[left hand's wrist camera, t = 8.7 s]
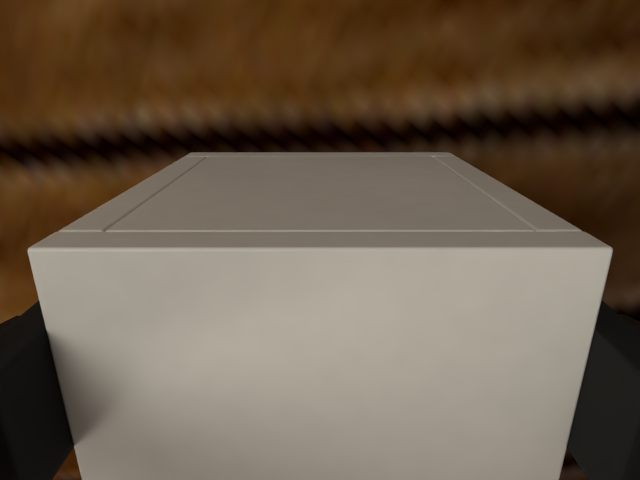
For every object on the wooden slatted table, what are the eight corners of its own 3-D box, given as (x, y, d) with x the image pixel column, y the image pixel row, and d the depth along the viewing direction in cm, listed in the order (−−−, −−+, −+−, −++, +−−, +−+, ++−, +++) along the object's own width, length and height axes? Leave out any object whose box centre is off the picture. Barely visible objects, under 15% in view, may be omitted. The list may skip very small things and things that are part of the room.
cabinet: (418, 483, 23) (489, 778, 13) (222, 483, 23) (152, 778, 13) (450, 152, 17) (616, 247, 8) (190, 152, 17) (24, 248, 8)
